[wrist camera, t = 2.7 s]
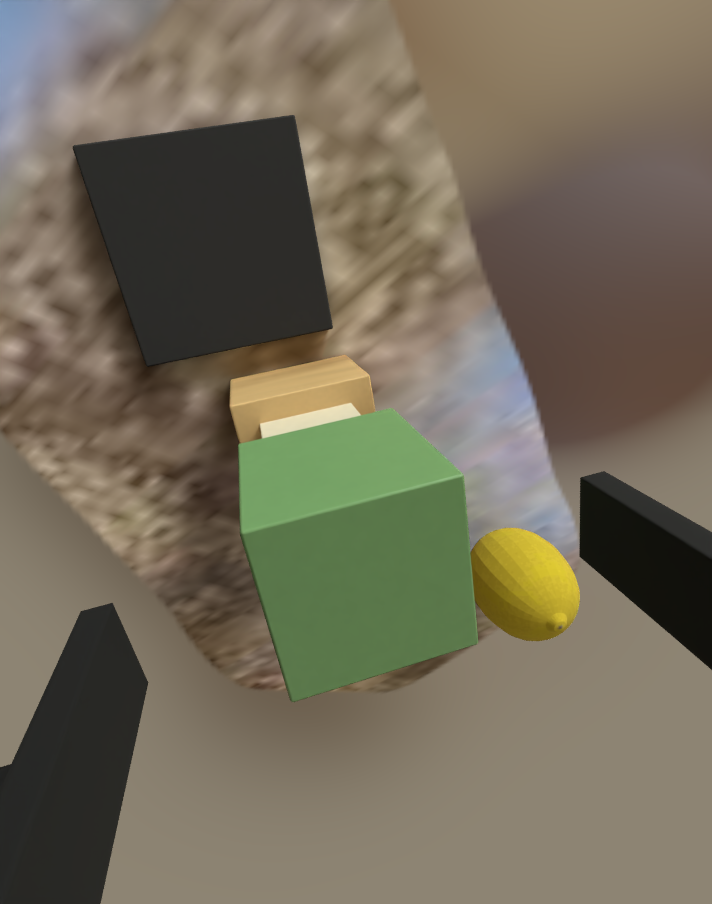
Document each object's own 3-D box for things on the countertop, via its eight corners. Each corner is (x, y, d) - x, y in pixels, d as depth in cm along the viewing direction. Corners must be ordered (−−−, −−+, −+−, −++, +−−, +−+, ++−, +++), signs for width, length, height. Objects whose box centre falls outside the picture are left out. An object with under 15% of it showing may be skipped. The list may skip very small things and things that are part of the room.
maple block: (229, 379, 25) (229, 406, 20) (345, 354, 26) (369, 374, 21) (258, 485, 27) (263, 530, 22) (363, 458, 28) (389, 497, 23)
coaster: (75, 148, 20) (71, 145, 19) (293, 118, 21) (294, 114, 21) (148, 364, 24) (146, 367, 23) (331, 327, 25) (333, 328, 24)
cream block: (259, 423, 21) (264, 458, 17) (351, 402, 21) (375, 431, 18) (280, 505, 22) (289, 554, 19) (365, 484, 23) (390, 526, 19)
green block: (237, 443, 17) (239, 532, 11) (392, 407, 17) (465, 473, 12) (274, 575, 19) (291, 704, 13) (411, 537, 20) (479, 644, 14)
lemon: (511, 491, 31) (596, 562, 24) (534, 554, 33) (619, 637, 26) (434, 533, 31) (496, 617, 24) (463, 594, 33) (527, 688, 26)
